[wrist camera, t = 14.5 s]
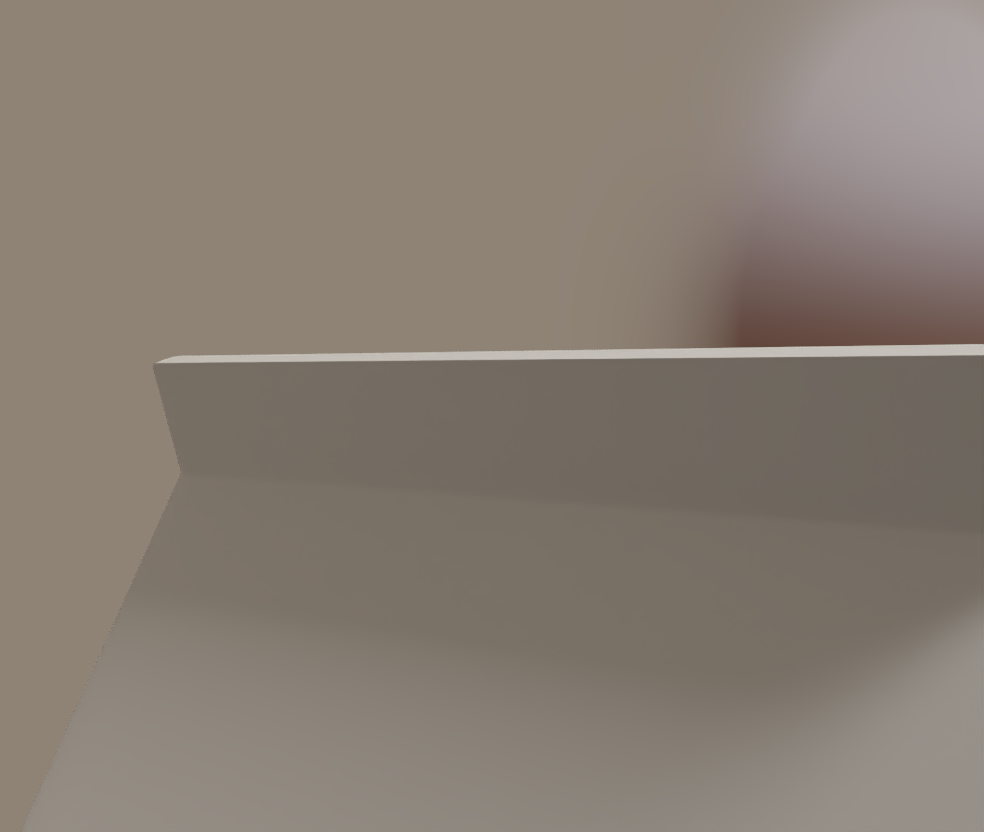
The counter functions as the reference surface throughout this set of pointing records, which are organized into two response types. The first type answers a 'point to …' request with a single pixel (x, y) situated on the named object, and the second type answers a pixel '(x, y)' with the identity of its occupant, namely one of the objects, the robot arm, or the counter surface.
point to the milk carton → (550, 598)
